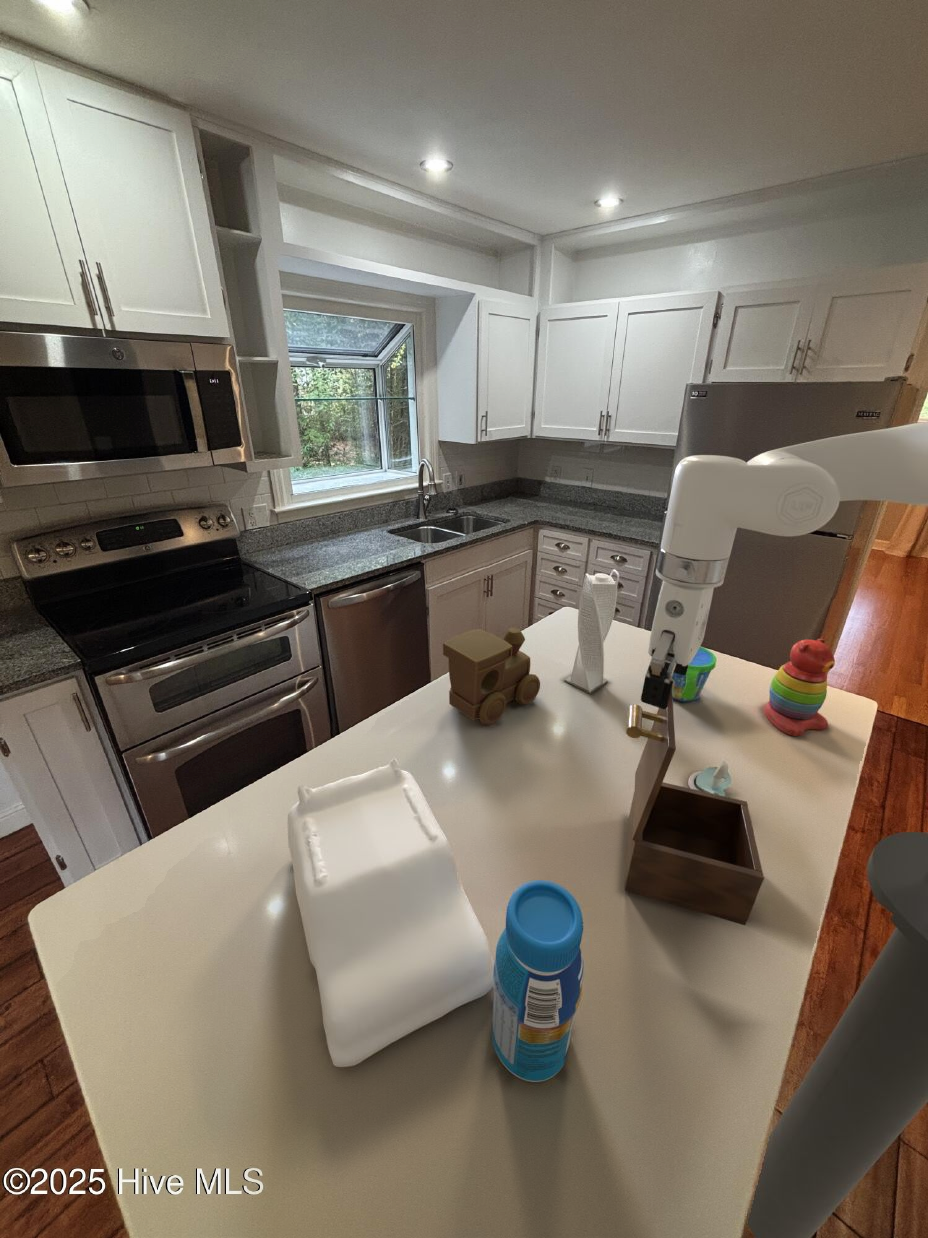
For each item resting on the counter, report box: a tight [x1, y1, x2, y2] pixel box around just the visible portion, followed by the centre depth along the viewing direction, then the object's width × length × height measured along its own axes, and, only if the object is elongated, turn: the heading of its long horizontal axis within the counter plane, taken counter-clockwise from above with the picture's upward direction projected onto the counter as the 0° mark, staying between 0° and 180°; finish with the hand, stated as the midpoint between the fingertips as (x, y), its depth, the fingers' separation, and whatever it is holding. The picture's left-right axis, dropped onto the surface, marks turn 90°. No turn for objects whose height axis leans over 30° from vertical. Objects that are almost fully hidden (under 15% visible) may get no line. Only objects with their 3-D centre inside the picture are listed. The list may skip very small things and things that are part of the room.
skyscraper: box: [563, 568, 621, 694], centre depth 107 cm, size 8×8×28 cm
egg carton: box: [287, 757, 495, 1068], centre depth 61 cm, size 19×30×13 cm, turn 26°
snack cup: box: [667, 646, 717, 703], centre depth 108 cm, size 16×10×10 cm
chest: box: [624, 781, 765, 926], centre depth 69 cm, size 15×13×9 cm
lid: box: [625, 690, 677, 842], centre depth 66 cm, size 16×13×5 cm
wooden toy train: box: [442, 627, 541, 726], centre depth 102 cm, size 20×11×17 cm, turn 131°
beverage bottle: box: [490, 879, 585, 1083], centre depth 48 cm, size 8×8×20 cm
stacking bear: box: [763, 638, 836, 737], centre depth 99 cm, size 11×10×18 cm
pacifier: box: [687, 760, 732, 797], centre depth 83 cm, size 7×6×6 cm
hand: (664, 687), depth 66 cm, fingers open, 9 cm apart
